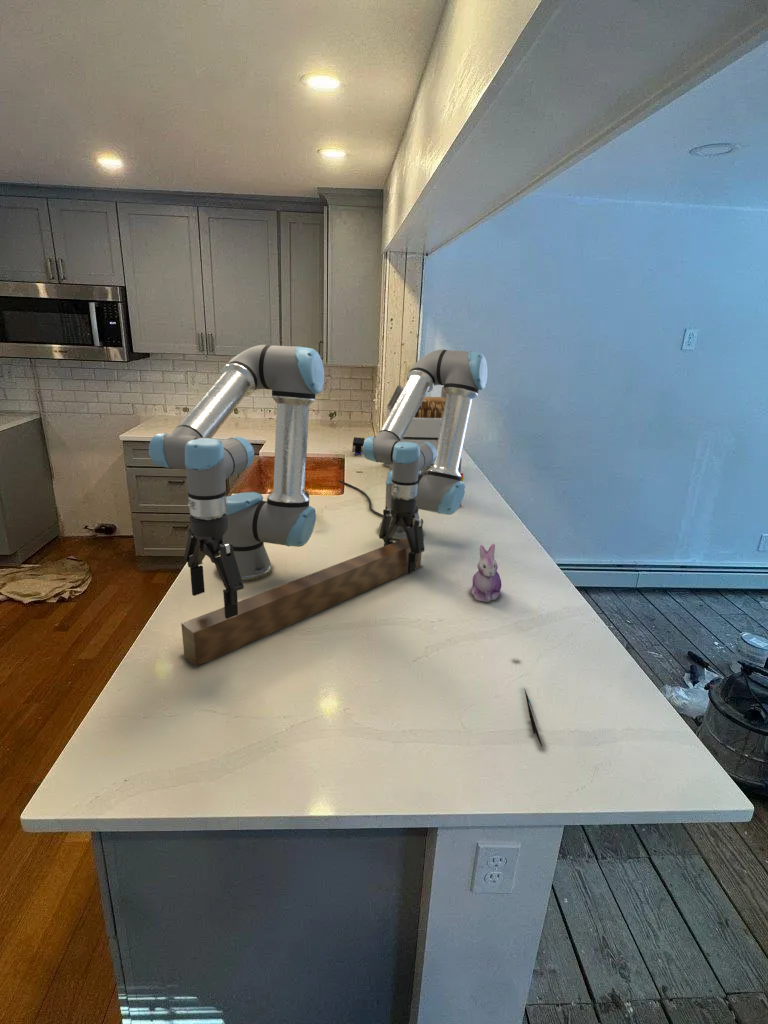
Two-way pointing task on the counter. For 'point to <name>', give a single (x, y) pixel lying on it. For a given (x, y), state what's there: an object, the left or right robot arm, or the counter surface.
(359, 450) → the figurine character
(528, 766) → the counter surface
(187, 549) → the left robot arm
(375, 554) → the bar
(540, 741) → the feather
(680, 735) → the counter surface
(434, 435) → the transformer
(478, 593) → the figurine
